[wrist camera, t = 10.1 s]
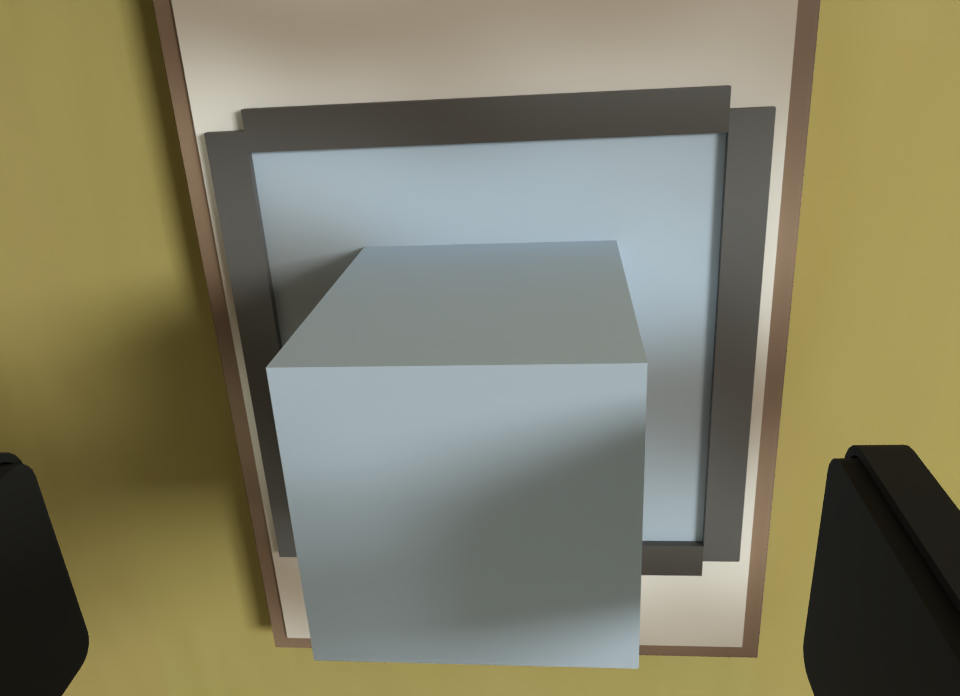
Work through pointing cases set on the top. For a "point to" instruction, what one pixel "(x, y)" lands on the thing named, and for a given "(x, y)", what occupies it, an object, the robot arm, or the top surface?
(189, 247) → the top surface
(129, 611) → the top surface
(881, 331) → the top surface
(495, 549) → the blue block
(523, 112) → the picture board
